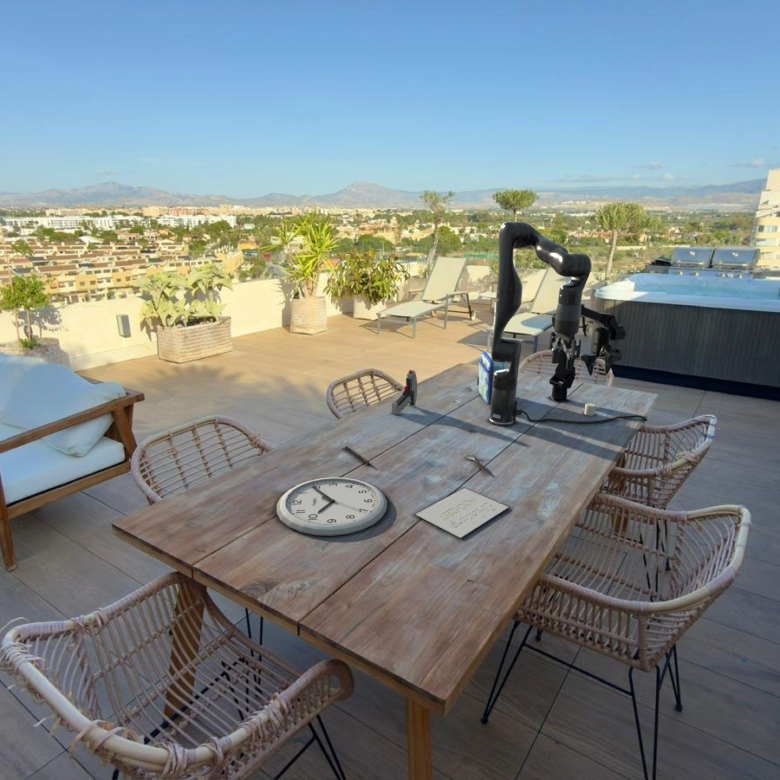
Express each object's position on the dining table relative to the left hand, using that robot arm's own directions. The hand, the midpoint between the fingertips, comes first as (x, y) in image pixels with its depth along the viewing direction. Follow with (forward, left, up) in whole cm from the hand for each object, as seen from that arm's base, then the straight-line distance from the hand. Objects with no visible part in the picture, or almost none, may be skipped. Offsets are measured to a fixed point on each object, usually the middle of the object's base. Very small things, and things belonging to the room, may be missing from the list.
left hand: (561, 366), depth 173 cm
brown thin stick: (+67, -9, -30) cm, 74 cm away
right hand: (-55, -53, -20) cm, 79 cm away
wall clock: (+80, +21, -30) cm, 88 cm away
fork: (+31, +5, -30) cm, 43 cm away
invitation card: (+46, +32, -30) cm, 64 cm away
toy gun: (+39, -50, -30) cm, 70 cm away
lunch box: (-3, -56, -30) cm, 63 cm away
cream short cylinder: (-35, -30, -30) cm, 55 cm away
